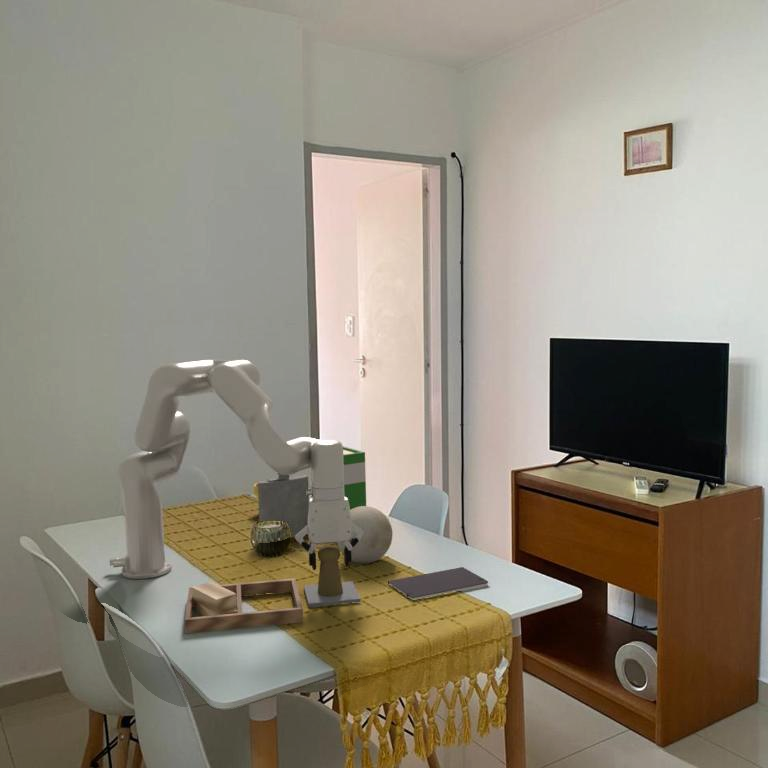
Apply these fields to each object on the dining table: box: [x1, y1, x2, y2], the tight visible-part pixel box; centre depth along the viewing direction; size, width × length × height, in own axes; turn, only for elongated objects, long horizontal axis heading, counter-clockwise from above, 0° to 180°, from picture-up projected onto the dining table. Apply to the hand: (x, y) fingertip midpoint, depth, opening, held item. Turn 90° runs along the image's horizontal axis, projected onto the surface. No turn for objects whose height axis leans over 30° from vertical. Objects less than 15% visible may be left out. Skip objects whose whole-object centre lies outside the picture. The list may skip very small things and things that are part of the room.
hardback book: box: [342, 445, 367, 510], centre depth 251 cm, size 18×7×24 cm, turn 33°
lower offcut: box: [193, 600, 237, 617], centre depth 182 cm, size 6×14×3 cm, turn 28°
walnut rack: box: [184, 578, 304, 634], centre depth 184 cm, size 25×20×3 cm
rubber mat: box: [303, 581, 362, 608], centre depth 192 cm, size 12×12×1 cm
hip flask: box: [257, 473, 310, 538], centre depth 240 cm, size 16×4×20 cm, turn 121°
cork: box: [317, 544, 343, 597], centre depth 191 cm, size 6×6×11 cm
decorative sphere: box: [337, 505, 394, 564], centre depth 216 cm, size 15×15×15 cm
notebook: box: [387, 566, 489, 600], centre depth 197 cm, size 13×2×21 cm
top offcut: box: [192, 581, 237, 613], centre depth 182 cm, size 5×11×3 cm, turn 42°
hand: (330, 566), depth 191 cm, fingers open, 7 cm apart
